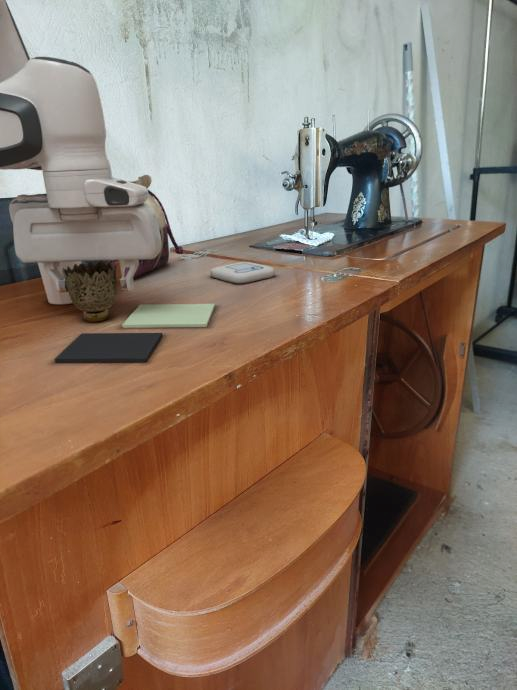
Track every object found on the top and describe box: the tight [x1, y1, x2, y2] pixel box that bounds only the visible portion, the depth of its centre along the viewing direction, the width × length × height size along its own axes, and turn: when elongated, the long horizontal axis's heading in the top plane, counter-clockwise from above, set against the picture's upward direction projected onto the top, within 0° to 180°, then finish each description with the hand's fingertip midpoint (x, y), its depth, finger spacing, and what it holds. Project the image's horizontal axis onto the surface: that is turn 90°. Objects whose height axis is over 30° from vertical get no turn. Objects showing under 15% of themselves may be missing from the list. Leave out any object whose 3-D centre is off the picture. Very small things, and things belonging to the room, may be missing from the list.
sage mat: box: [121, 303, 216, 329], centre depth 77 cm, size 12×10×1 cm
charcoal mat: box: [54, 332, 163, 364], centre depth 65 cm, size 11×9×1 cm
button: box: [210, 261, 276, 285], centre depth 100 cm, size 10×2×10 cm
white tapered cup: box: [37, 261, 82, 305], centre depth 86 cm, size 7×7×7 cm
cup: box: [62, 261, 117, 323], centre depth 75 cm, size 8×7×8 cm
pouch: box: [109, 174, 184, 280], centre depth 102 cm, size 25×8×19 cm, turn 162°
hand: (95, 290), depth 75 cm, fingers open, 8 cm apart
